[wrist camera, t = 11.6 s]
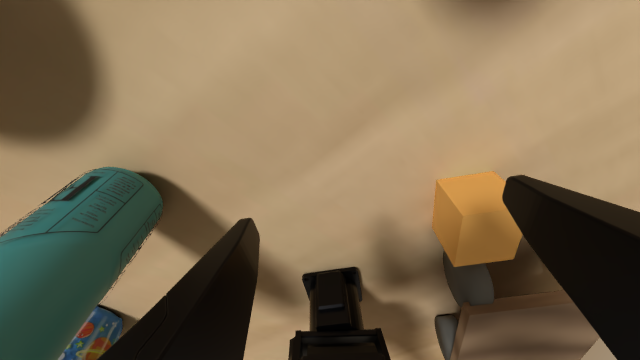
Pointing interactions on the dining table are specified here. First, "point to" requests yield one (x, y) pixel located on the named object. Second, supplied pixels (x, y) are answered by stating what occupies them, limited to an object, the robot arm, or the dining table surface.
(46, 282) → the beverage bottle
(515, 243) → the block
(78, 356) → the snack cup
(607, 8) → the dining table surface
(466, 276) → the trolley
